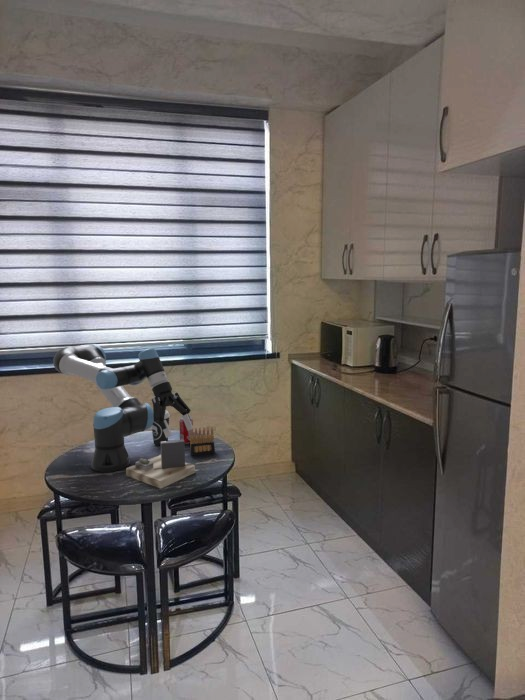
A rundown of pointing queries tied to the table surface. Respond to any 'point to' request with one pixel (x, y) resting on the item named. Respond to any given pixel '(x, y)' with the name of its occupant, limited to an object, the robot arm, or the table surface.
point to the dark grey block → (172, 453)
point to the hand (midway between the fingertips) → (180, 433)
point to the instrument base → (158, 472)
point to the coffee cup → (159, 430)
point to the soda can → (185, 431)
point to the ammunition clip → (202, 442)
